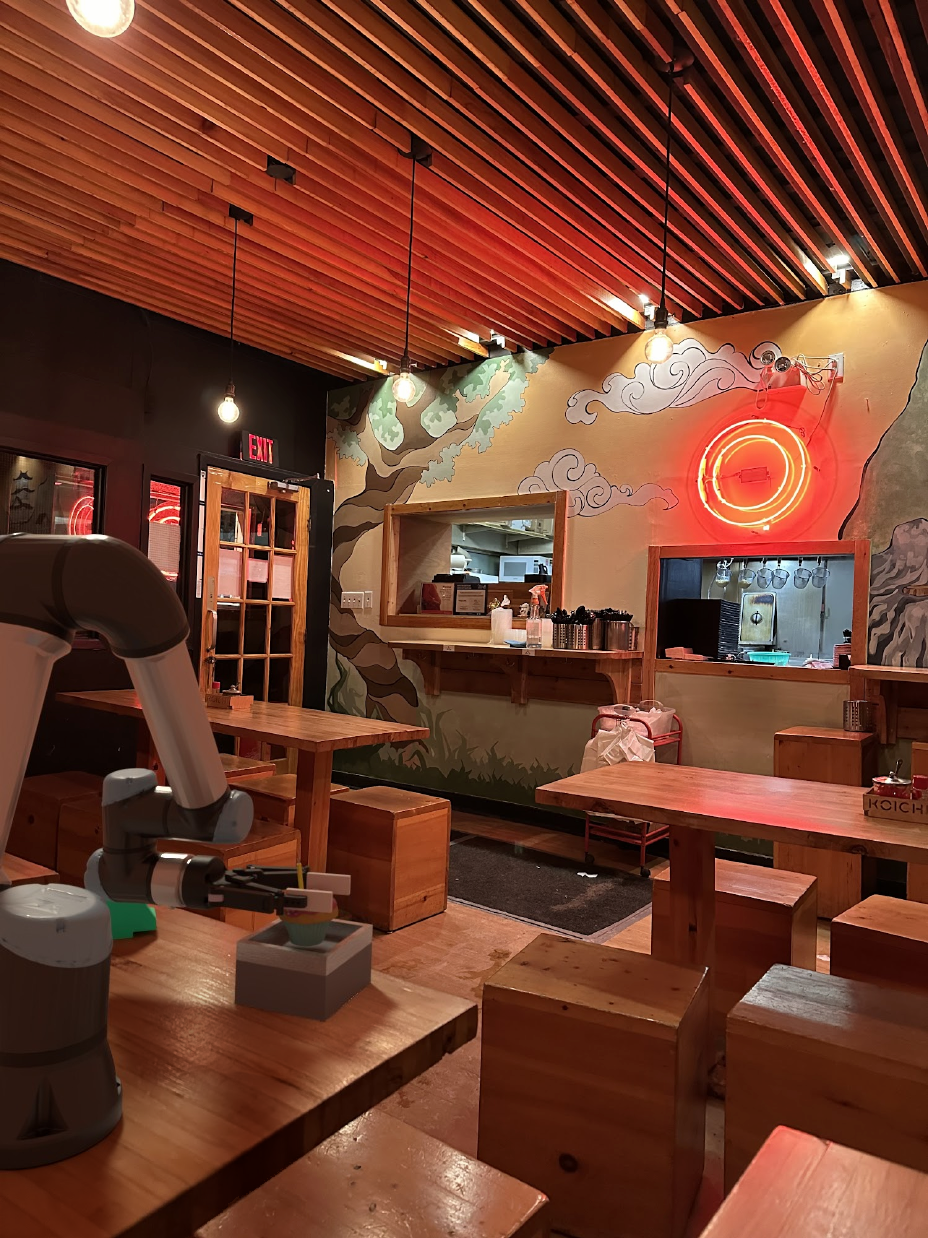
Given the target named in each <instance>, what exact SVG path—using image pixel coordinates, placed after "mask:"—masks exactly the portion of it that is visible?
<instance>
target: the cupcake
mask: <svg viewBox="0 0 928 1238" xmlns="http://www.w3.org/2000/svg"><path fill="white" fill-rule="evenodd" d="M296 860H297V863H296V867H297V873H298V884H299V889H304V887H303V876H302V867H303V866H302V863H301V862H300V859H299V858H296ZM307 890H319V891H323V890H322V889H321V890H320V889H312V888H310V889H307ZM338 907H339V906H338V900H336V898H335V897H333V902H332V912H331V913H324V912H313V911H301V910H290V909H285V907H284V914H283V915H281V916H278V918H280V920H282V921H284V922H285V925H286V928H287V931H288V934H289V938H290V942H291V943H292V944H294V945H298V946H314V945H318V944H320V943H322V942H323V941H324V938H325V935H326V932H327V929H328V926H329V924H330V922H331V920H333V919H337V917H338V916H339V908H338Z"/></svg>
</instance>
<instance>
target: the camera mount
mask: <svg viewBox="0 0 928 1238" xmlns="http://www.w3.org/2000/svg"><path fill="white" fill-rule="evenodd" d="M104 901H105V902H106V903H107V906H108V908H109V909H110V914H111V933H112V937H113V940H122V939H131V938H134V932H135V933H137V932H145V931H155V930H156V931H157V915H156V908H155V907H151V906H149V904H139V903H124V902H123V903H115V902H112V901H107V900H104Z"/></svg>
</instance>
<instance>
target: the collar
mask: <svg viewBox="0 0 928 1238" xmlns="http://www.w3.org/2000/svg"><path fill="white" fill-rule="evenodd" d="M373 926H374V925H373V924H370V923H363V922H357V921H351V920H344V919H339V918H334V919H333V920H331V922H330V924H329V926H328V929H327V932H326V935H325V937H330V938H336V939H342V941H341V942H340V943H338V944H337V945H335V946H334V947H332V948H331V949H329V950H328V951H327V952H325V953H324V954H323V953H318V952H312V951H306V950H300V949H295V948H289V947H283V946H277V945H271V943H273V942H275V941H276V940H278V939H280V938H281V937H283V936H285V935H286V934H288V931H287V928H286V925H285V922H284V921H282V920H280V918H279V917H278V918H277V919H276V918H275V920H273V921H271V922H269V923H267V924H265V925H264V926H262V927H260V928H259V929H257V930H255V931H253V932H252V933H249V934H247V935H246V936H244V937H242V938H240V939H239V940H236V949H235V950H236V952H235V961H236V960H240V961H245V962H251V963H256V964H262V965H267V966H273V967H278V968H284V969H289V970H295V971H300V972H305V973H311V974H316V975H322V976H327V975H328V974H330V973H331V972H332V971H334V970H335V969H336V968H338V967H339V966H340V965H342V964H343V963H344V962H346V961H347V960H348V959H350V958H351V957H352V956H354V955H355V954H356V953H358V952H359V951H360V950H362V949H363V948H364V947H366V946H367V945H368V944H370V943H371V942H372V943H373V930H374V929H373V928H374V927H373Z"/></svg>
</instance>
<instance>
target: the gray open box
mask: <svg viewBox="0 0 928 1238" xmlns="http://www.w3.org/2000/svg"><path fill="white" fill-rule="evenodd" d="M341 941H342V939H336V938H330V937H325V938H324V941H323V942H322V943H320V944H318V945H314V946H298V945H294V944H292V943H291V942H290V938H289V934H286V935H285V936H283V937H281V938H280V939H278V940H276V941H275V942H273V943H271V945H277V946H283V947H289V948H295V949H300V950H306V951H312V952H318V953H323V954H324V953H325V952H327V951H328V950H329V949H331V948H332V947H334V946H335V945H337V944H338V943H340V942H341ZM372 951H373V941H372V942H371V943H370V944H368V945H367V946H366V947H364V948H363V949H362V950H360V951H359V952H358V953H356V954H355V955H354V956H352V957H351V958H350V959H348V960H347V961H346V962H344V963H343V964H342V965H340V966H339V967H338V968H336V969H335V970H334V971H332V972H331V973H330V974H328V975H327V976H322V975H316V974H311V973H305V972H300V971H295V970H289V969H284V968H278V967H273V966H267V965H262V964H256V963H251V962H245V961H240V960H236V959H235V976H234V977H235V978H234V980H235V981H234V1004H235V1005H239V1006H245V1007H249V1008H254V1009H259V1010H264V1011H269V1012H273V1013H278V1014H284V1015H289V1016H293V1017H299V1018H304V1019H309V1020H312V1021H317V1022H322V1023H325V1022H327V1020H329V1019H330V1018H331V1017H333V1015H334V1014H336V1013H337V1012H338V1011H339V1010H341V1009H342V1008H343V1007H344V1006H345V1005H346V1004H347V1003H349V1002H350V1001H351V1000H352V999H354V997H356V996H357V995H358V994H359V993H360V992H361V991H360V990H362V989H363V988H364V989H365V988H367V986H369V985H370V984H371V982H372V959H373V958H372V957H373V956H372V953H373V952H372ZM364 989H363V990H364ZM363 990H362V991H363ZM357 993H358V994H357ZM356 994H357V995H356ZM355 995H356V996H355ZM353 996H354V997H353ZM351 998H352V999H351ZM349 1000H350V1001H349ZM348 1001H349V1002H348ZM343 1005H344V1006H343ZM342 1006H343V1007H342ZM341 1007H342V1008H341Z"/></svg>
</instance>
